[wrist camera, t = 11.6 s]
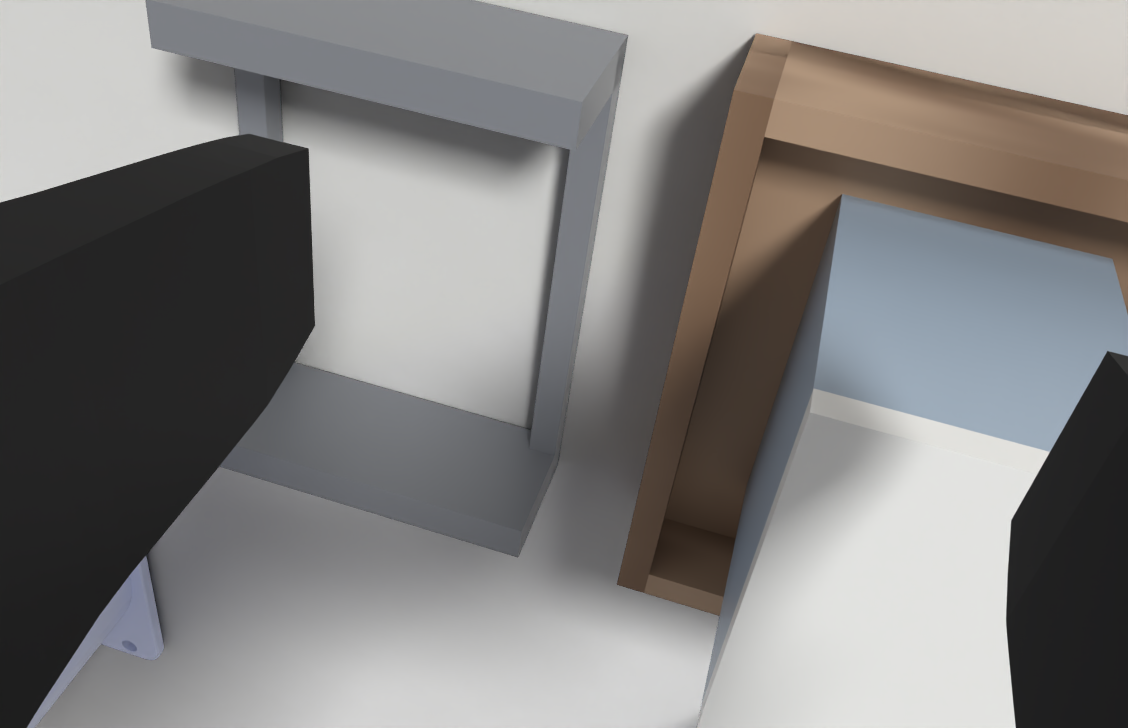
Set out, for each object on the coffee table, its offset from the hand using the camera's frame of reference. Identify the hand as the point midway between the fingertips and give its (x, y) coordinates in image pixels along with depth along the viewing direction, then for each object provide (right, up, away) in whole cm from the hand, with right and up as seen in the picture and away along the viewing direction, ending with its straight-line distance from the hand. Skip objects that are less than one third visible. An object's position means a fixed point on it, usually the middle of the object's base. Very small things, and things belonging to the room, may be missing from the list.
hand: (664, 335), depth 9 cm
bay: (-4, +2, +12) cm, 13 cm away
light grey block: (+5, -1, +10) cm, 11 cm away
